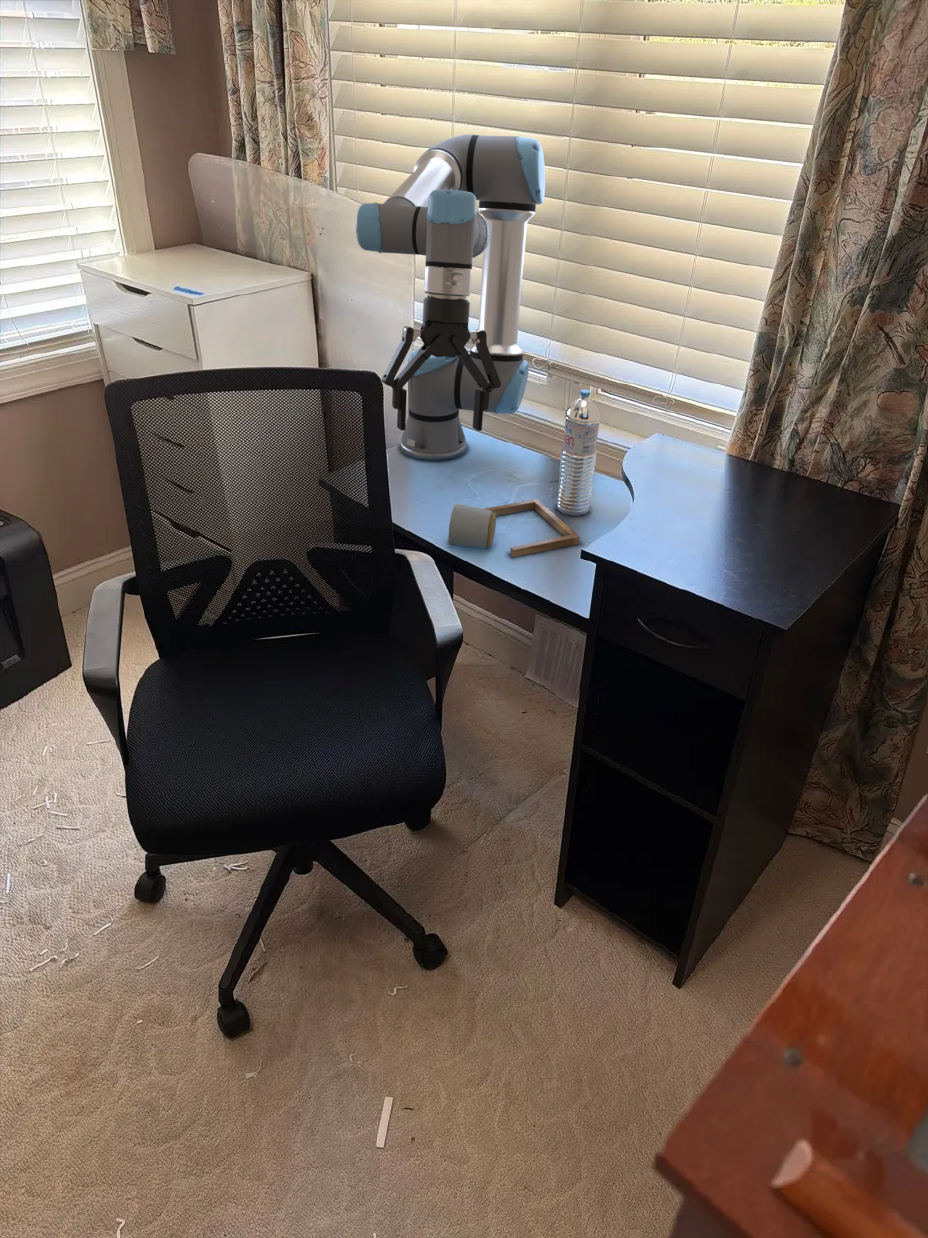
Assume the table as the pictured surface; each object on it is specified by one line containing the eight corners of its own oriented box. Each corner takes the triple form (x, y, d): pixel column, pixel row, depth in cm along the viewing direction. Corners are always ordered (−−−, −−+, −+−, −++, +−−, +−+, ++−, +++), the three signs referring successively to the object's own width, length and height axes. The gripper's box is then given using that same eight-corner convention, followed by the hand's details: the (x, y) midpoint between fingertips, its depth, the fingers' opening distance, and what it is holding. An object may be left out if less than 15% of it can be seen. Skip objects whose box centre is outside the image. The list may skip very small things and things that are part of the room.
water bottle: (555, 501, 179) (566, 384, 165) (588, 502, 178) (602, 385, 164) (556, 516, 173) (568, 396, 159) (590, 517, 173) (605, 398, 159)
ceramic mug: (490, 555, 159) (492, 518, 155) (447, 551, 160) (448, 514, 156) (498, 530, 168) (500, 494, 163) (457, 526, 169) (458, 490, 165)
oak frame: (474, 517, 172) (474, 510, 171) (536, 505, 177) (537, 498, 176) (512, 557, 159) (513, 549, 158) (578, 543, 164) (579, 536, 163)
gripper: (376, 293, 130) (372, 432, 139) (527, 302, 138) (515, 433, 146) (366, 291, 137) (363, 424, 145) (510, 299, 145) (500, 425, 153)
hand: (439, 429), depth 146 cm, fingers open, 13 cm apart
